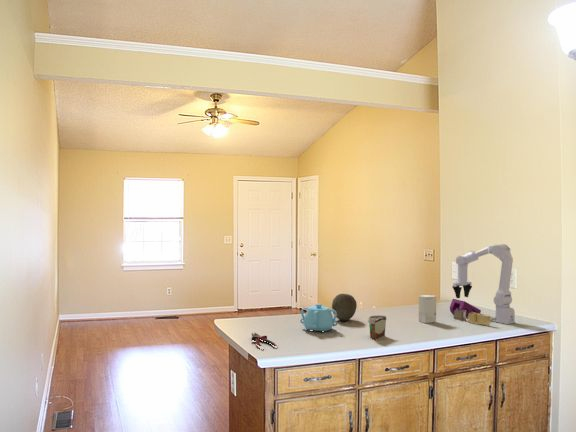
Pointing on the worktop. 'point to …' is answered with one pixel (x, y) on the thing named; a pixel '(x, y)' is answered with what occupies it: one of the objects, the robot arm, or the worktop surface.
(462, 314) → the fixed leaf
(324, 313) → the decorative pot
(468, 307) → the mounting bracket
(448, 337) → the worktop surface
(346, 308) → the dark brown ball
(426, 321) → the skincare box
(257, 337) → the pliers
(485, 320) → the loose leaf
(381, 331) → the food container
